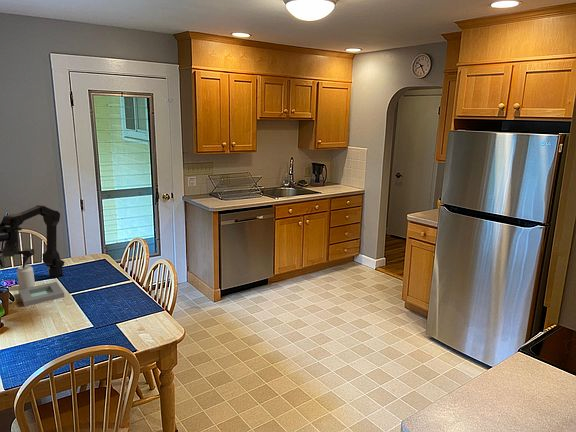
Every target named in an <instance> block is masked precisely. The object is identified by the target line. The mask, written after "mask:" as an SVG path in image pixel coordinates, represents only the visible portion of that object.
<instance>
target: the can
mask: <svg viewBox="0 0 576 432" xmlns="http://www.w3.org/2000/svg"><path fill="white" fill-rule="evenodd" d="M16 273H17V274H16V276H17V281H18V287H19V288H20V289H25V288H30V287H34V286H36V281H35V275H34V268H33V267H32V265H30V264H26V265H25V267H24V269H23V265H20V266H18V267H17V270H16Z"/></svg>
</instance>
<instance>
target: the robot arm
mask: <svg viewBox="0 0 576 432" xmlns="http://www.w3.org/2000/svg"><path fill="white" fill-rule="evenodd" d="M36 216H42V218H43V222H44V224H45V226H46V251H45V252H44V253H43V252H42V258H41V260H42V262H43V263H44V265H45V266H46V267H48V268H47V271H48V277H49V278H50V279H56V278H60V277H64V273H63V267H64V266H65V261H64V260H63V259H61V257H60V252H58V250H57V226H58V224H59V223H60V219H61V213H60V212H59V211H58V210H54V209H52V208H50V207H47V206H45V205H42V204H41V205H40V204H39V205H38V204H37V205H35V206H34V207H31V208H28V209H25V210H23V211H21V212H18V213H12V214H6V215H4V216H3V217H2V220H1V222H0V243H2V242H4V246H3V248H0V267H1V269H2V270H4V269H5V258H6V257H8V258H9V257H10V258H12V257H14V256H15V255H22V266H23V269H24V267H25V265H27V262H28V259H29V258H30V257H33V255H35V249H34V248H25V249H24V250H21V249H20V238H19V231H23V228H22V227H20V226H21V225H22V224H24V222H25V221H27V220H29V219H31V218H34V217H36Z"/></svg>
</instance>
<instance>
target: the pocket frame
mask: <svg viewBox="0 0 576 432" xmlns="http://www.w3.org/2000/svg"><path fill="white" fill-rule="evenodd" d="M18 295H19V297H20V300H21V301H22V303H23V305H24V307H29V306H32V305H38V304H41V303H45V301H46V302H49V300H50V301H54V300H58V299H62V298H65V292H64V290H63V289H62V287H61V286H60V285H59V284H58V282H57V281H55V282H54V281H53V282H49V283H44V284H40V285H34V286H33V287H30V288H25V289H21V288H20V289H18Z"/></svg>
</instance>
